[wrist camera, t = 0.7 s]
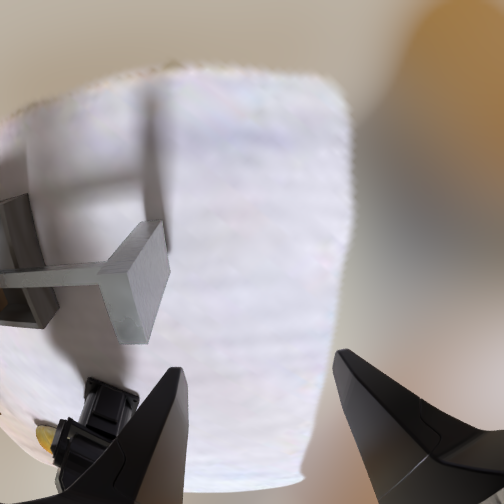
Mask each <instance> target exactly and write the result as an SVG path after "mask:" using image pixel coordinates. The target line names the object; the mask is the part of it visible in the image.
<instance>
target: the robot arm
mask: <svg viewBox="0 0 504 504" xmlns="http://www.w3.org/2000/svg"><path fill="white" fill-rule="evenodd" d="M333 375H334V378H335V382H336V386H337V389H338V393H339V397H340V401H341V405H342V408H343V411H344V414H345V416H346V419H347V421H348V424H349V426H350V429H351V431H352V434H353V436H354V439H355V441H356V444H357V447H358V449H359V452H360V454H361V457H362V460H363V462H364V465H365V468H366V470H367V473H368V475H369V478H370V481H371V483H372V486H373V489H374V492H375V494H376V497H377V499H378V502H379V504H504V430H497V431H485V430H480V429H477V428H475V427H473V426H471V425H468V424H467V423H464V422H462V421H460V420H458V419H456V418H454V417H452V416H450V415H448V414H446V413H444V412H442V411H441V410H439V409H437V408H436V407H434V406H432V405H430V404H429V403H427V402H426V401H424V400H423V399H420V397H418V396H417V395H415V394H414V393H412V392H411V391H409V390H408V389H406V388H405V387H403V386H402V385H400V384H399V383H397V382H396V381H394V380H393V379H392V378H390V377H389V376H387V375H386V374H384V373H383V372H381V371H380V370H378V369H377V368H375V367H374V366H372V365H371V364H369V363H368V362H366V361H365V360H364V359H362V358H361V357H359V356H358V355H356V354H355V353H354V352H352V351H351V350H349V349H341V350H337V351H336V353H335V357H334V362H333ZM139 401H140V399H139V397H137V396H134V395H132V394H129V393H126V392H124V391H121V390H119V389H116V388H114V387H111V386H109V385H106V384H104V383H102V382H99V381H97V380H95V379H93V378H88V379H87V382H86V391H85V402H84V407H83V410H82V413H81V416H80V419H79V422H76V421H74V420H73V419H72V418H70V417H68V419H67V420H63V419H60V421H59V424H58V427H57V429H56V432H55V435H54V438H53V441H52V444H51V447H50V450H51V452H52V454H53V458H54V460H53V465H55V466H57V467H58V470H57V475H56V478H55V485H56V488H57V490H58V493H59V494H57V495H53V496H50V497H45V498H41V499H36V500H32V501H27V502H21V503H14V504H182V503H183V488H184V474H185V462H186V450H187V439H188V427H189V420H188V386H187V381H186V378H185V374H184V371H183V369H182V368H181V367H170V368H169V369H168V370H167V372H166V373H165V374H164V375H163V377H162V378H161V379H160V381H159V382H158V383H157V385H156V386H155V387H154V388H153V390H152V391H151V392H150V394H149V395H148V396H147V398H146V399H145V400H144V402H143V403H142V404H141V405H140V407H139V408H138V409H137V407H138V404H139ZM136 409H137V411H136ZM67 437H69V438H70V439H68V438H67ZM0 504H3V503H0Z"/></svg>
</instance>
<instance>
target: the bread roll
mask: <svg viewBox="0 0 504 504" xmlns="http://www.w3.org/2000/svg"><path fill="white" fill-rule="evenodd" d="M55 432H56V428H53V427H50V426H44V425H41V426H38V427H37V428H36V437H37V439H38V441H39V443H40V445H41V446H42V447H43V448H44V449H45V450H46V451H48V452H49V453H51V454H52V452H51V450H50V447H51V444H52V441H53V438H54V435H55ZM67 438H68V439H70V438H69V437H67Z"/></svg>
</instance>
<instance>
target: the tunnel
mask: <svg viewBox="0 0 504 504" xmlns="http://www.w3.org/2000/svg"><path fill="white" fill-rule="evenodd" d="M42 266H45V264H44V261H43V257H42V254H41V250H40V247H39V243H38V239H37V235H36V231H35V227H34V223H33V218H32V213H31V208H30V203H29V198H28V193H27V194H24V195H20V196H17V197H13V198H10V199H7V200H3V201H0V270H6V269H18V268H30V267H42ZM59 308H60V307H59V304H58V302H57V299H56V296H55V294H54V291H53V288H52V287H26V288H0V325H3V326H12V327H23V328H35V329H44V328H45V327H46V326H47V324H48V323H49V321H50V320H51V319H52V317H53V316H54V315H55V313H56V312H57V311H58V309H59Z"/></svg>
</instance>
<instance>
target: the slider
mask: <svg viewBox="0 0 504 504" xmlns="http://www.w3.org/2000/svg"><path fill="white" fill-rule="evenodd" d="M169 275H170V266H169V260H168V254H167V248H166V242H165V236H164V229H163V222H162V220H154V221H145V222H140V223H139V224H138V225H137V226H136V228H135V229H134V230H133V231H132V232H131V233H130V234H129V236H128V237H127V238H126V239H125V240H124V241H123V242H122V244H121V245H120V246H119V247H118V248H117V250H116V251H115V252H114V253H113V254H112V256H111V257H110V258H109V259H108V260H107V261H104V262H91V263H79V264H66V265H54V266H42V267H30V268H18V269H6V270H0V288H26V287H57V286H81V285H99V287H100V291H101V294H102V297H103V300H104V303H105V306H106V309H107V312H108V315H109V318H110V320H111V323H112V326H113V329H114V331H115V334H116V337H117V339H118V342H119V344H148V342H149V338H150V335H151V332H152V328H153V325H154V322H155V318H156V315H157V312H158V309H159V306H160V302H161V299H162V296H163V293H164V290H165V287H166V284H167V281H168V278H169Z"/></svg>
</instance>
